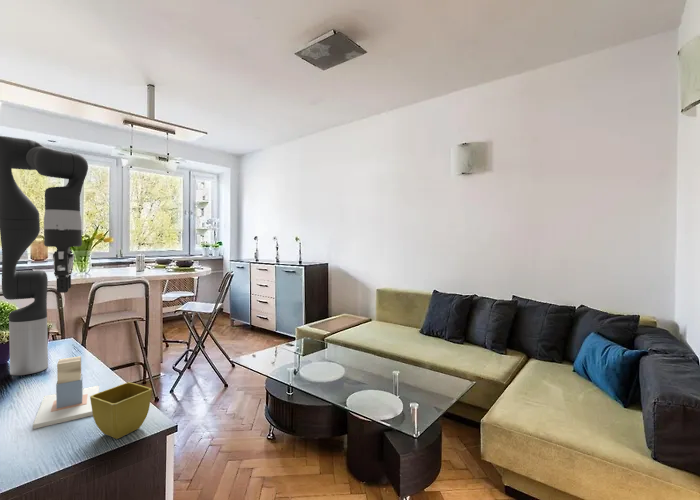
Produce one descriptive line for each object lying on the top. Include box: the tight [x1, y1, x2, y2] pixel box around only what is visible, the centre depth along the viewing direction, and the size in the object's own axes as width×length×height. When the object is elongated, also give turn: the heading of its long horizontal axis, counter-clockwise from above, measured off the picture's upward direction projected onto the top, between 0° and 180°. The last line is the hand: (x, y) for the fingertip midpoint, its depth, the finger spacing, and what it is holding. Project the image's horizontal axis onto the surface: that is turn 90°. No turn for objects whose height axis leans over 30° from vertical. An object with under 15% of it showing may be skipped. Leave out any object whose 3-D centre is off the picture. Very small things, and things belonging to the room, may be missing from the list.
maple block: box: [56, 355, 82, 384], centre depth 89 cm, size 4×4×5 cm
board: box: [32, 385, 100, 430], centre depth 89 cm, size 18×12×1 cm, turn 36°
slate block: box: [55, 373, 84, 408], centre depth 89 cm, size 5×5×6 cm
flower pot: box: [90, 381, 153, 440], centre depth 77 cm, size 9×9×9 cm
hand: (64, 290), depth 89 cm, fingers open, 8 cm apart
